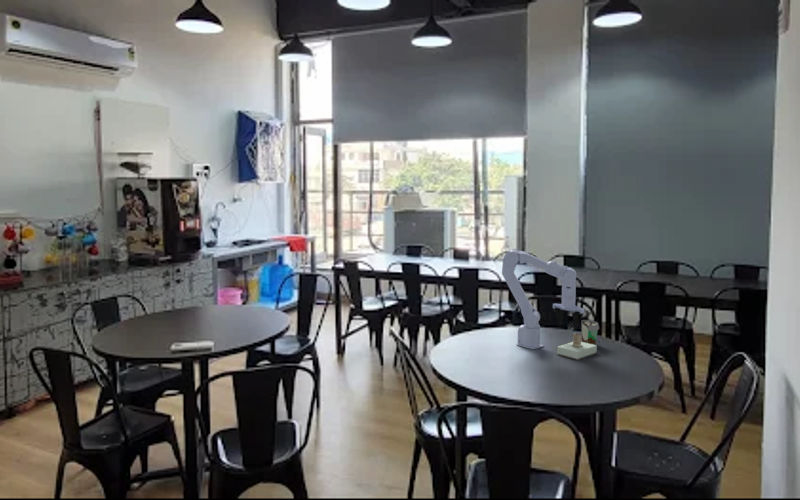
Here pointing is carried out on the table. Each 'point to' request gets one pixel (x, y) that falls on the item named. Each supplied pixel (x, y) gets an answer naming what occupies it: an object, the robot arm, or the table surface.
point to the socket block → (576, 350)
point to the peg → (577, 340)
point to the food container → (589, 331)
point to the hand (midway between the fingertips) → (567, 327)
